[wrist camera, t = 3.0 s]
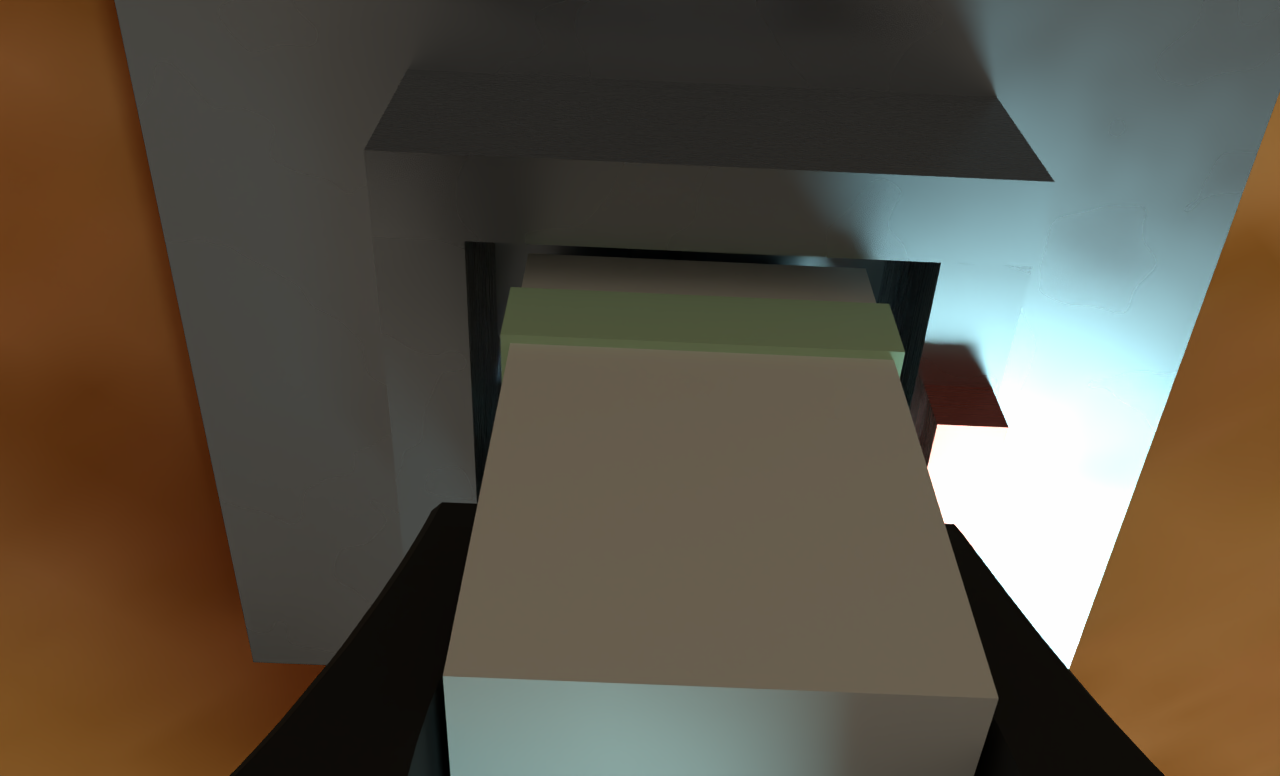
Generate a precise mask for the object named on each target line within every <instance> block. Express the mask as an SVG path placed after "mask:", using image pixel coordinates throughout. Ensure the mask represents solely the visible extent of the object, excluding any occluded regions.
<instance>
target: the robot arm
mask: <svg viewBox="0 0 1280 776" xmlns="http://www.w3.org/2000/svg"><path fill="white" fill-rule="evenodd" d="M477 505H478V504H475V503H451V502H442V503H440V504H439V505H438V506H437V507H435V508H434V509H433V510H432V511H431V512H430V514H429V516H428V518H427V520H426V522H425V523H424V525H423V527H422V529H421V530H420V532H419V534H418V535H417V537H416V539H415V540H414V542H413V544H412V545H411V547H410V549H409V550H408V552H407V553H406V555H405V557H404V558H403V560H402V561H401V563H400V564H399V566H398V567H397V569H396V570H395V572H394V573H393V575H392V576H391V578H390V579H389V581H388V582H387V584H386V585H385V587H384V588H383V590H382V591H381V593H380V594H379V596H378V597H377V599H376V600H375V601H374V603H373V604H372V605H371V607H370V608H369V609H368V611H367V612H366V614H365V615H364V616H363V618H362V619H361V620H360V622H359V623H358V624H357V626H356V627H355V629H354V630H353V631H352V633H351V634H350V635H349V637H348V638H347V639H346V641H345V642H344V644H343V645H342V646H341V648H340V649H339V650H338V651H337V653H336V654H335V655H334V657H333V658H332V659H331V660H330V662H329V663H328V664H327V665H326V667H325V668H324V669H323V670H322V671H321V673H320V674H319V675H318V676H317V677H316V679H315V680H314V681H313V682H312V683H311V685H310V686H309V687H308V688H307V690H306V691H305V692H304V693H303V694H302V696H301V697H300V698H299V699H298V700H297V702H296V703H295V704H294V705H293V706H292V708H291V709H290V710H289V711H288V712H287V714H286V715H285V716H284V717H283V718H282V720H281V721H280V722H279V723H278V724H277V725H276V726H275V728H274V729H273V730H272V731H271V732H270V733H269V734H268V735H267V736H266V737H265V739H264V740H263V741H262V742H261V743H260V744H259V745H258V746H257V747H256V749H255V750H254V751H253V752H252V753H251V754H250V755H249V756H248V757H247V758H246V759H245V760H244V761H243V762H242V764H241V765H240V766H239V767H238V768H237V769H236V770H235V771H234V772H233V773H232V774H231V775H230V776H451V775H450V762H449V749H448V736H447V723H446V710H445V697H444V685H443V673H444V668H445V663H446V658H447V653H448V648H449V643H450V638H451V633H452V628H453V623H454V619H455V614H456V609H457V604H458V599H459V594H460V589H461V584H462V579H463V574H464V569H465V564H466V559H467V554H468V549H469V544H470V539H471V534H472V529H473V525H474V520H475V515H476V510H477ZM945 527H946V530H947V533H948V536H949V540H950V543H951V546H952V549H953V552H954V556H955V559H956V562H957V565H958V569H959V572H960V575H961V578H962V582H963V585H964V588H965V591H966V594H967V598H968V601H969V604H970V607H971V611H972V614H973V617H974V620H975V624H976V627H977V630H978V633H979V637H980V640H981V643H982V646H983V649H984V653H985V656H986V659H987V662H988V666H989V669H990V672H991V675H992V679H993V682H994V685H995V688H996V691H997V695H998V698H999V699H998V702H997V705H996V708H995V712H994V715H993V718H992V721H991V724H990V727H989V730H988V733H987V736H986V739H985V743H984V746H983V749H982V752H981V755H980V758H979V761H978V764H977V767H976V770H975V774H974V776H1165V775H1164V774H1163V773H1162V772H1161V771H1160V770H1159V769H1158V768H1157V767H1156V766H1155V765H1154V764H1153V763H1152V762H1151V761H1150V760H1149V759H1148V758H1147V757H1146V756H1145V755H1144V753H1143V752H1142V751H1141V750H1140V749H1139V748H1138V747H1137V746H1136V745H1135V744H1134V743H1133V742H1132V740H1131V739H1130V738H1129V737H1128V736H1127V735H1126V734H1125V733H1124V732H1123V731H1122V730H1121V729H1120V728H1119V726H1118V725H1117V724H1116V723H1115V722H1114V721H1113V720H1112V719H1111V718H1110V717H1109V715H1108V714H1107V713H1106V712H1105V711H1104V710H1103V709H1102V707H1101V706H1100V705H1099V704H1098V703H1097V702H1096V701H1095V699H1094V698H1093V697H1092V696H1091V695H1090V694H1089V693H1088V691H1087V690H1086V689H1085V688H1084V687H1083V685H1082V684H1081V683H1080V682H1079V681H1078V679H1077V678H1076V677H1075V676H1074V675H1073V674H1072V672H1071V671H1070V670H1069V669H1068V668H1067V666H1066V665H1065V664H1064V663H1063V662H1062V660H1061V659H1060V658H1059V657H1058V656H1057V654H1056V653H1055V652H1054V651H1053V650H1052V648H1051V647H1050V646H1049V645H1048V644H1047V642H1046V641H1045V640H1044V639H1043V637H1042V636H1041V635H1040V634H1039V632H1038V631H1037V630H1036V629H1035V627H1034V626H1033V625H1032V624H1031V622H1030V621H1029V620H1028V619H1027V617H1026V616H1025V615H1024V613H1023V612H1022V611H1021V610H1020V608H1019V607H1018V606H1017V604H1016V603H1015V602H1014V601H1013V599H1012V598H1011V597H1010V595H1009V594H1008V593H1007V591H1006V590H1005V589H1004V588H1003V586H1002V585H1001V584H1000V582H999V581H998V580H997V578H996V577H995V576H994V574H993V573H992V572H991V570H990V569H989V568H988V566H987V565H986V564H985V562H984V561H983V560H982V558H981V557H980V556H979V554H978V553H977V552H976V550H975V549H974V548H973V546H972V545H971V544H970V543H969V541H968V540H967V539H966V537H965V536H964V535H963V533H962V532H961V531H960V530H959V529H958V528H957V526H956V525H955V524H946V523H945Z"/></svg>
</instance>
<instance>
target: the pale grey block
mask: <svg viewBox="0 0 1280 776" xmlns="http://www.w3.org/2000/svg"><path fill="white" fill-rule="evenodd" d="M500 341H501V374H502V386H501V391H500V396H499V401H498V406H497V411H496V416H495V421H494V426H493V431H492V436H491V440H490V445H489V450H488V455H487V460H486V465H485V470H484V475H483V480H482V485H481V490H480V495H479V500H478V505H477V510H476V515H475V520H474V525H473V529H472V534H471V539H470V544H469V549H468V554H467V559H466V564H465V569H464V574H463V579H462V584H461V589H460V594H459V599H458V604H457V609H456V614H455V619H454V623H453V628H452V633H451V638H450V643H449V648H448V653H447V658H446V663H445V668H444V673H443V685H444V697H445V710H446V723H447V736H448V749H449V762H450V775H451V776H974V774H975V770H976V767H977V764H978V761H979V758H980V755H981V752H982V749H983V746H984V743H985V739H986V736H987V733H988V730H989V727H990V724H991V721H992V718H993V715H994V712H995V708H996V705H997V702H998V699H999V698H998V695H997V691H996V688H995V685H994V682H993V679H992V675H991V672H990V669H989V666H988V662H987V659H986V656H985V653H984V649H983V646H982V643H981V640H980V637H979V633H978V630H977V627H976V624H975V620H974V617H973V614H972V611H971V607H970V604H969V601H968V598H967V594H966V591H965V588H964V585H963V582H962V578H961V575H960V572H959V569H958V565H957V562H956V559H955V556H954V552H953V549H952V546H951V543H950V540H949V536H948V533H947V530H946V527H945V523H944V520H943V517H942V514H941V510H940V507H939V504H938V501H937V498H936V494H935V491H934V488H933V485H932V481H931V478H930V475H929V472H928V468H927V465H926V462H925V459H924V456H923V452H922V449H921V446H920V443H919V439H918V436H917V433H916V430H915V426H914V423H913V420H912V417H911V414H910V410H909V407H908V404H907V401H906V397H905V394H904V391H903V388H902V384H901V381H900V375H901V370H902V365H903V360H904V355H905V350H904V347H903V344H902V341H901V338H900V335H899V332H898V329H897V326H896V323H895V320H894V317H893V314H892V311H891V308H890V305H889V304H882V303H876V300H875V297H874V294H873V291H872V287H871V284H870V281H869V278H868V275H867V271H866V268H844V267H822V266H800V265H778V264H755V263H733V262H711V261H688V260H666V259H644V258H621V257H599V256H577V255H555V254H532V253H528V257H527V262H526V267H525V272H524V277H523V282H522V287H511V288H510V292H509V297H508V301H507V306H506V311H505V315H504V320H503V324H502V329H501V334H500Z"/></svg>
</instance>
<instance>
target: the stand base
mask: <svg viewBox="0 0 1280 776" xmlns="http://www.w3.org/2000/svg"><path fill="white" fill-rule="evenodd" d="M114 1H115V5H116V10H117V15H118V20H119V24H120V29H121V34H122V39H123V43H124V48H125V53H126V58H127V62H128V67H129V72H130V77H131V81H132V86H133V91H134V96H135V100H136V105H137V110H138V115H139V119H140V124H141V129H142V134H143V139H144V143H145V148H146V153H147V158H148V162H149V167H150V172H151V177H152V181H153V186H154V191H155V196H156V200H157V205H158V210H159V215H160V219H161V224H162V229H163V234H164V238H165V243H166V248H167V253H168V257H169V262H170V267H171V272H172V276H173V281H174V286H175V291H176V296H177V300H178V305H179V310H180V315H181V319H182V324H183V329H184V334H185V338H186V343H187V348H188V353H189V357H190V362H191V367H192V372H193V376H194V381H195V386H196V391H197V395H198V400H199V405H200V410H201V414H202V419H203V424H204V429H205V433H206V438H207V443H208V448H209V453H210V457H211V462H212V467H213V472H214V476H215V481H216V486H217V491H218V495H219V500H220V505H221V510H222V514H223V519H224V524H225V529H226V533H227V538H228V543H229V548H230V552H231V557H232V562H233V567H234V571H235V576H236V581H237V586H238V590H239V595H240V600H241V605H242V610H243V614H244V619H245V624H246V629H247V633H248V638H249V643H250V648H251V652H252V657H253V662H264V663H288V664H313V665H327V664H328V663H329V662H330V660H331V659H332V658H333V657H334V655H335V654H336V653H337V651H338V650H339V649H340V648H341V646H342V645H343V644H344V642H345V641H346V639H347V638H348V637H349V635H350V634H351V633H352V631H353V630H354V629H355V627H356V626H357V624H358V623H359V622H360V620H361V619H362V618H363V616H364V615H365V614H366V612H367V611H368V609H369V608H370V607H371V605H372V604H373V603H374V601H375V600H376V599H377V597H378V596H379V594H380V593H381V591H382V590H383V588H384V587H385V585H386V584H387V582H388V581H389V579H390V578H391V576H392V575H393V573H394V572H395V570H396V569H397V567H398V566H399V564H400V563H401V561H402V560H403V558H404V557H405V555H406V553H407V552H408V550H409V549H410V547H411V545H412V544H413V542H414V540H415V539H416V537H417V535H418V534H419V532H420V530H421V529H422V527H423V525H424V523H425V522H426V520H427V518H428V516H429V514H430V512H431V511H432V510H433V509H434V508H435V507H437V506H438V505H439V504H440V503H442V502H451V503H475V504H478V500H479V495H480V490H481V485H482V480H483V475H484V470H485V465H486V460H487V455H488V450H489V445H490V440H491V436H492V431H493V426H494V421H495V416H496V411H497V406H498V401H499V396H500V391H501V386H502V374H501V341H500V334H501V329H502V324H503V320H504V315H505V311H506V306H507V301H508V297H509V292H510V288H511V287H522V282H523V277H524V272H525V267H526V262H527V257H528V253H532V254H555V255H577V256H599V257H621V258H644V259H666V260H688V261H711V262H733V263H755V264H778V265H800V266H822V267H844V268H866V271H867V275H868V278H869V281H870V284H871V287H872V291H873V294H874V297H875V300H876V303H882V304H889V305H890V308H891V311H892V314H893V317H894V320H895V323H896V326H897V329H898V332H899V335H900V338H901V341H902V344H903V347H904V350H905V355H904V360H903V365H902V370H901V375H900V381H901V384H902V388H903V391H904V394H905V397H906V401H907V404H908V407H909V410H910V414H911V417H912V420H913V423H914V426H915V430H916V433H917V436H918V439H919V443H920V446H921V449H922V452H923V456H924V459H925V462H926V465H927V468H928V472H929V475H930V478H931V481H932V485H933V488H934V491H935V494H936V498H937V501H938V504H939V507H940V510H941V514H942V517H943V520H944V523H946V524H955V525H956V526H957V528H958V529H959V530H960V531H961V532H962V533H963V535H964V536H965V537H966V539H967V540H968V541H969V543H970V544H971V545H972V546H973V548H974V549H975V550H976V552H977V553H978V554H979V556H980V557H981V558H982V560H983V561H984V562H985V564H986V565H987V566H988V568H989V569H990V570H991V572H992V573H993V574H994V576H995V577H996V578H997V580H998V581H999V582H1000V584H1001V585H1002V586H1003V588H1004V589H1005V590H1006V591H1007V593H1008V594H1009V595H1010V597H1011V598H1012V599H1013V601H1014V602H1015V603H1016V604H1017V606H1018V607H1019V608H1020V610H1021V611H1022V612H1023V613H1024V615H1025V616H1026V617H1027V619H1028V620H1029V621H1030V622H1031V624H1032V625H1033V626H1034V627H1035V629H1036V630H1037V631H1038V632H1039V634H1040V635H1041V636H1042V637H1043V639H1044V640H1045V641H1046V642H1047V644H1048V645H1049V646H1050V647H1051V648H1052V650H1053V651H1054V652H1055V653H1056V654H1057V656H1058V657H1059V658H1060V659H1061V660H1062V662H1063V663H1064V664H1065V665H1066V666H1067V668H1068V669H1069V666H1070V664H1071V661H1072V658H1073V656H1074V653H1075V650H1076V647H1077V645H1078V642H1079V639H1080V636H1081V634H1082V631H1083V628H1084V625H1085V623H1086V620H1087V617H1088V614H1089V612H1090V609H1091V606H1092V604H1093V601H1094V598H1095V595H1096V593H1097V590H1098V587H1099V584H1100V582H1101V579H1102V576H1103V573H1104V571H1105V568H1106V565H1107V562H1108V560H1109V557H1110V554H1111V552H1112V549H1113V546H1114V543H1115V541H1116V538H1117V535H1118V532H1119V530H1120V527H1121V524H1122V521H1123V519H1124V516H1125V513H1126V511H1127V508H1128V505H1129V502H1130V500H1131V497H1132V494H1133V491H1134V489H1135V486H1136V483H1137V480H1138V478H1139V475H1140V472H1141V469H1142V467H1143V464H1144V461H1145V459H1146V456H1147V453H1148V450H1149V448H1150V445H1151V442H1152V439H1153V437H1154V434H1155V431H1156V428H1157V426H1158V423H1159V420H1160V417H1161V415H1162V412H1163V409H1164V407H1165V404H1166V401H1167V398H1168V396H1169V393H1170V390H1171V387H1172V385H1173V382H1174V379H1175V376H1176V374H1177V371H1178V368H1179V365H1180V363H1181V360H1182V357H1183V355H1184V352H1185V349H1186V346H1187V344H1188V341H1189V338H1190V335H1191V333H1192V330H1193V327H1194V324H1195V322H1196V319H1197V316H1198V314H1199V311H1200V308H1201V305H1202V303H1203V300H1204V297H1205V294H1206V292H1207V289H1208V286H1209V283H1210V281H1211V278H1212V275H1213V272H1214V270H1215V267H1216V264H1217V262H1218V259H1219V256H1220V253H1221V251H1222V248H1223V245H1224V242H1225V240H1226V237H1227V234H1228V231H1229V229H1230V226H1231V223H1232V220H1233V218H1234V215H1235V212H1236V210H1237V207H1238V204H1239V201H1240V199H1241V196H1242V193H1243V190H1244V188H1245V185H1246V182H1247V179H1248V177H1249V174H1250V171H1251V169H1252V166H1253V163H1254V160H1255V158H1256V155H1257V152H1258V149H1259V147H1260V144H1261V141H1262V138H1263V136H1264V133H1265V130H1266V127H1267V125H1268V122H1269V119H1270V117H1271V114H1272V111H1273V108H1274V106H1275V103H1276V100H1277V97H1278V95H1279V92H1280V0H114Z"/></svg>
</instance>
